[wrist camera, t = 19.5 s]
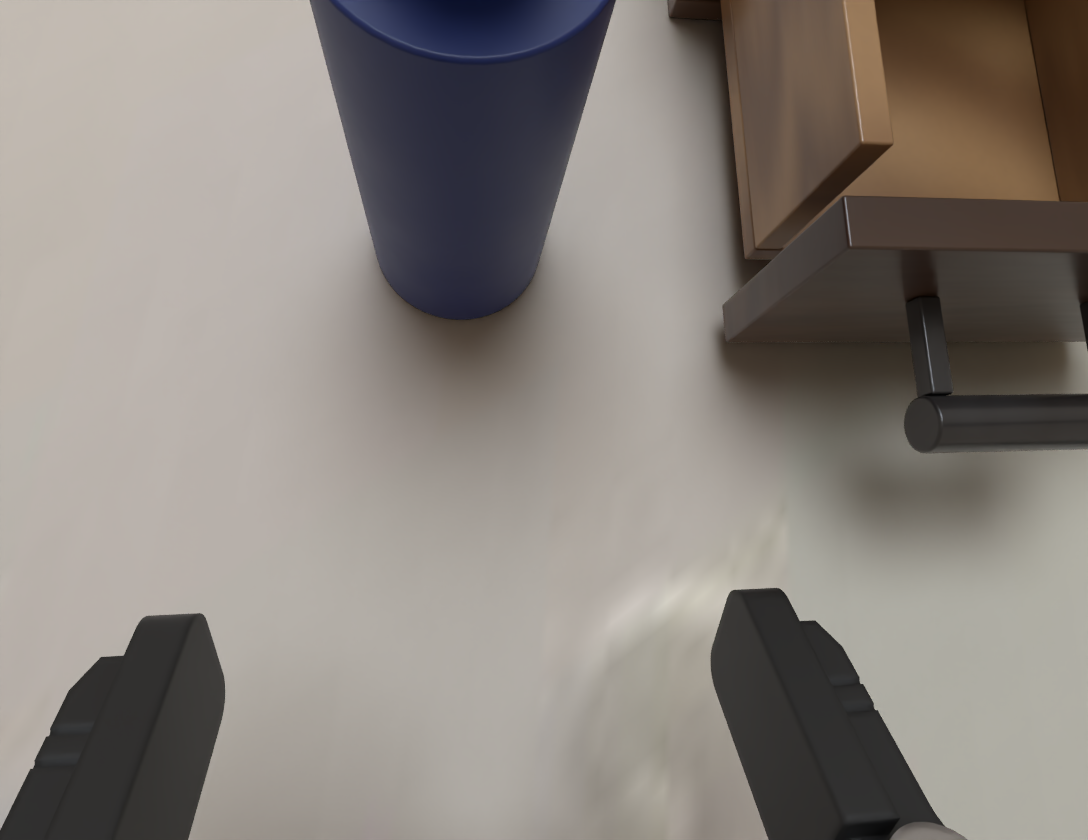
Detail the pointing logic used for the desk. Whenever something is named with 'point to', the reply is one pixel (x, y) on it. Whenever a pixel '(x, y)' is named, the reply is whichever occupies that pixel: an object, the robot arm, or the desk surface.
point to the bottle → (460, 134)
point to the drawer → (917, 191)
